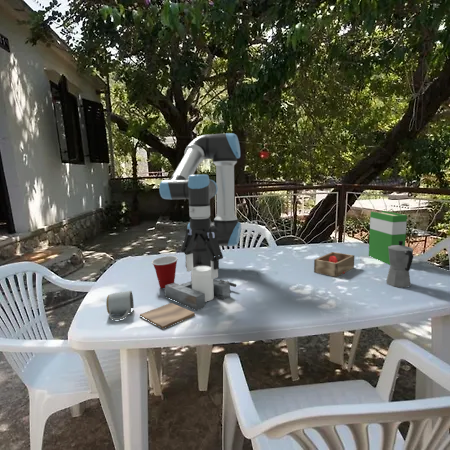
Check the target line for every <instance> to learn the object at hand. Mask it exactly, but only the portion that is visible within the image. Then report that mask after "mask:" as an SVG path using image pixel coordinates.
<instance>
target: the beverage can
mask: <svg viewBox="0 0 450 450" xmlns="http://www.w3.org/2000/svg"><path fill="white" fill-rule="evenodd" d="M190 273H191V275H190V276H191V278H192V289H193V290H196V291H199V292H201V293H204V294H205V303H207V301H208V302H210V301H212V300H214V298H215V297H214V286H213V279H212V278H211V267H209V266H197V267H194V268H193V269H192V271H190ZM191 278H190V279H191Z"/></svg>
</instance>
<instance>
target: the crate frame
mask: <svg viewBox="0 0 450 450" xmlns="http://www.w3.org/2000/svg"><path fill="white" fill-rule="evenodd" d="M330 256H335V257H336V258H337V261H338V262H337V263H333V262H329V258H330ZM313 261H314V262H313V265H314V266H313V272H314V273H317V274H321V275H326V276H331V277H335V278H338V277H339V276H342V275H344V274H343V272H345V273H346V272H348V271H350V270H353V269H354V268H355V255H354V254H350V253H349V254H348V253H342V252H335V251H331V252H328V253H325V255H321V256H319V257H317V258H315V259H314V260H313Z"/></svg>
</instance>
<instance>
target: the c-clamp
mask: <svg viewBox="0 0 450 450" xmlns="http://www.w3.org/2000/svg"><path fill="white" fill-rule="evenodd" d="M190 279H191V280H190V281H187V282H184V283H181V284H179V283H176V282H174V283H171V284H168V285H165V289H164V298H165V297H167V298H166V299H168V298H170V299H172V300H175V301H177V302H179V303H178V304H180V303H181V304H180V305H182V304H183V305H182V306H184V305H186V306H185V307H187V306H188V308H189V307H190V308H189V309H192V308H193V309H192V310H194V309H195V310H194V311H199V310H202V309H203V308H206V302H205V294H204V293H201V292H199V291H196V290H193V289H192V278H190ZM213 286H214V298H218V299H221V300H225V299H228V298H230V297H231V287H234V288H236V287H237V284H236V283H232V282H230V281H228V280H224V279H223V280H222V279H219V280H218V279H216V278H214V279H213ZM170 299H169V300H170ZM172 300H171V301H172ZM175 301H174V302H175ZM177 302H176V303H177ZM201 308H202V309H201Z"/></svg>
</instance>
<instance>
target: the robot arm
mask: <svg viewBox="0 0 450 450" xmlns="http://www.w3.org/2000/svg"><path fill="white" fill-rule="evenodd" d="M184 149H185V150H184V152H183V153H184V155H183V156H182V159H181V161H180V162H179V163H178V165H177V167H176V169H175V170H174V172H173V174H172V175H171V177H170V179H165V180H164V179H163V180H161V181H160V183H159V189H158V190H159V195H160V197H161V198H162V199H163V200H171V201H172V200H188V208H189V210H188V212H189V222H188V224H187V228H186V230H185V236H184V239H183V244H182V247H181V252H182V253H184V255H185V261H184V262H185V267H186V272H192V269H193V268H194V267H197V266H209V267H211V278H212V279H217V278H218V277H219V268H220V265H219V264H220V263H219V261H220V260H222V259H224V255H223V253H222V249H221V247H235V246H237V245H239V242H240V239H241V233H242V223H241V222H240V221H238V217H237V216H236V215H235V165H236V164H237V163H238V159H240V158H241V146H240V141H239V138H238V135H237V134H235V133H234V132H233V133H230V132H226V133H224V132H223V133H215V134H214V133H211V134H209V133H208V134H202V135H199V136H198V137H195V138H194V139H193V140H191V141H190V142H189V143H188V145H186V148H184ZM204 160H212V163H213V164H214V165H215V173H216V181H214V180H213V179H210V176H209V174H207V173H206V174H195V172H196V170H197V168H198V166H199V164H200V163H202V162H203V161H204ZM215 196H216V216H215V217H214V219H213V221H211V218H210V217H211V203H210V202H211V199H212V198H214V197H215Z"/></svg>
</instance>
